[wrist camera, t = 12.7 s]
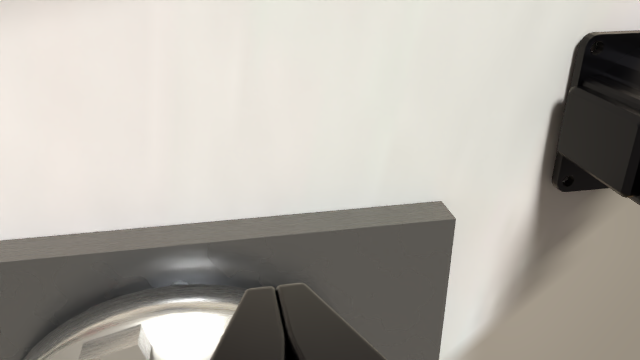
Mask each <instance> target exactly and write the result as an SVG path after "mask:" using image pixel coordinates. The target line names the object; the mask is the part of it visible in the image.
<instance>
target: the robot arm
mask: <svg viewBox="0 0 640 360" xmlns="http://www.w3.org/2000/svg"><path fill="white" fill-rule="evenodd" d="M595 42H597V46H596V48H595V50H594V51H593V52H591V47H592V45H593V44H594V43H595ZM557 150H558V151H557V156H556V161H555V166H554V171H553V176H552V183H553V185H554V186H555V187H557V188H558V189H559V190H561V191H562V192H570V191H581V190H593V189H604V188H611V189H612V190H614V191H615V192H617V193H618V194H619V195H621V196H622V197H628V198H630V199H631V200H633V201H634V202H636V203H637V204H639V205H640V30H639V31H614V32H593V33H589V34H587V35H586V36H584V37H583V39H582V40H581V41H580V44H579V47H578V52H577V57H576V62H575V67H574V72H573V77H572V82H571V86H570V91H569V93H568V96H567V101H566V106H565V111H564V116H563V121H562V126H561V131H560V136H559V141H558V146H557ZM567 176H569V177H568V179H567V180H566V181H565V182H563V180H564V178H565V177H567ZM210 360H387V359H386V358H385V357H384V356H383V355H382V354H381V353H379V352H378V351H377V350H376V349H375V348H374V347H373V346H372V345H371V344H370V343H369V342H368V341H367V340H365V339H364V338H363V337H362V336H361V335H360V334H359V333H358V332H357V331H356V330H355V329H354V328H352V327H351V326H350V325H349V324H348V323H347V322H346V321H345V320H344V319H343V318H342V317H341V316H339V315H338V314H337V313H336V312H335V311H334V310H333V309H332V308H331V307H330V306H329V305H328V304H326V303H325V302H324V301H323V300H322V299H321V298H320V297H319V296H318V295H317V294H316V293H315V292H313V291H312V290H311V289H310V288H309V287H308V286H307V285H306V284H304V283H294V284H285V285H279V286H278V287H277V288H276V290H275V288H274V287H272V286H267V287H258V288H250V289H247V290H246V291H245V293H244V295H243V297H242V298H241V300H240V302H239V304H238V306H237V308H236V310H235V312H234V314H233V316H232V318H231V320H230V322H229V324H228V326H227V327H226V329H225V331H224V333H223V335H222V337H221V339H220V341H219V343H218V345H217V347H216V349H215V351H214V353H213V355H212V357H211V358H210Z"/></svg>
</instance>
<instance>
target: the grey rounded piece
mask: <svg viewBox="0 0 640 360" xmlns="http://www.w3.org/2000/svg"><path fill="white" fill-rule="evenodd" d="M246 290H247V289H244V288H238V287H232V286H225V285H208V284H191V285H172V286H166V287H159V288H153V289H146V290H142V291H138V292H134V293H131V294H127V295H123V296H119V297H117V298H114V299H111V300H109V301H106V302H104V303H101V304H98V305H96V306H93V307H91V308H89V309H87V310H86V311H84V312H82V313H80V314H78V315H76V316H74V317H72V318H70V319H69V320H67V321H66V322H64V323H63V324H61V325H60V326H59V327H57V328H56V329H54V330H53V331H51V332H50V333H49V334H48V335H46V336H45V337H44V338H43V339H42V340H41V341H40V342H39V343H38V344H37V345H35V346H34V347H33V348H32V349H31V350H30V352H29V353H28V354H27V355H26V356H25V358H24V359H23V360H210V358H211V357H212V355H213V353H214V351H215V349H216V347H217V345H218V343H219V341H220V339H221V337H222V335H223V333H224V331H225V329H226V327H227V326H228V324H229V322H230V320H231V318H232V316H233V314H234V312H235V310H236V308H237V306H238V304H239V302H240V300H241V298H242V297H243V295H244V293H245V291H246Z"/></svg>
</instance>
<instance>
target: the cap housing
mask: <svg viewBox="0 0 640 360" xmlns="http://www.w3.org/2000/svg"><path fill="white" fill-rule="evenodd" d="M455 221H456V219H455V217H454V216H453V215H452V214H451V212H450V211H449V210H448V209H447V207H446V206H445V205H444V204H443V203H442V201H438V202H427V203H416V204H405V205H394V206H383V207H371V208H360V209H349V210H338V211H327V212H316V213H304V214H293V215H282V216H271V217H260V218H249V219H238V220H226V221H215V222H204V223H193V224H182V225H171V226H159V227H148V228H137V229H126V230H115V231H104V232H93V233H81V234H70V235H59V236H48V237H37V238H26V239H14V240H3V241H0V360H23V359H24V358H25V356H26V355H27V354H28V353H29V352H30V350H31V349H32V348H33V347H34V346H35V345H37V344H38V343H39V342H40V341H41V340H42V339H43V338H44V337H45V336H46V335H48V334H49V333H50V332H51V331H53V330H54V329H56V328H57V327H59V326H60V325H61V324H63V323H64V322H66V321H67V320H69V319H70V318H72V317H74V316H76V315H78V314H80V313H82V312H84V311H86V310H87V309H89V308H91V307H93V306H96V305H98V304H101V303H104V302H106V301H109V300H111V299H114V298H117V297H119V296H123V295H127V294H131V293H134V292H138V291H142V290H146V289H153V288H159V287H166V286H172V285H191V284H208V285H225V286H232V287H238V288H244V289H250V288H258V287H267V286H272V287H274V288H275V290H276V288H277V287H278V286H279V285H285V284H294V283H304V284H306V285H307V286H308V287H309V288H310V289H311V290H312V291H313V292H315V293H316V294H317V295H318V296H319V297H320V298H321V299H322V300H323V301H324V302H325V303H326V304H328V305H329V306H330V307H331V308H332V309H333V310H334V311H335V312H336V313H337V314H338V315H339V316H341V317H342V318H343V319H344V320H345V321H346V322H347V323H348V324H349V325H350V326H351V327H352V328H354V329H355V330H356V331H357V332H358V333H359V334H360V335H361V336H362V337H363V338H364V339H365V340H367V341H368V342H369V343H370V344H371V345H372V346H373V347H374V348H375V349H376V350H377V351H378V352H379V353H381V354H382V355H383V356H384V357H385V358H386V359H387V360H439V353H440V345H441V337H442V328H443V320H444V312H445V304H446V295H447V287H448V279H449V271H450V262H451V254H452V246H453V238H454V229H455Z"/></svg>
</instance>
